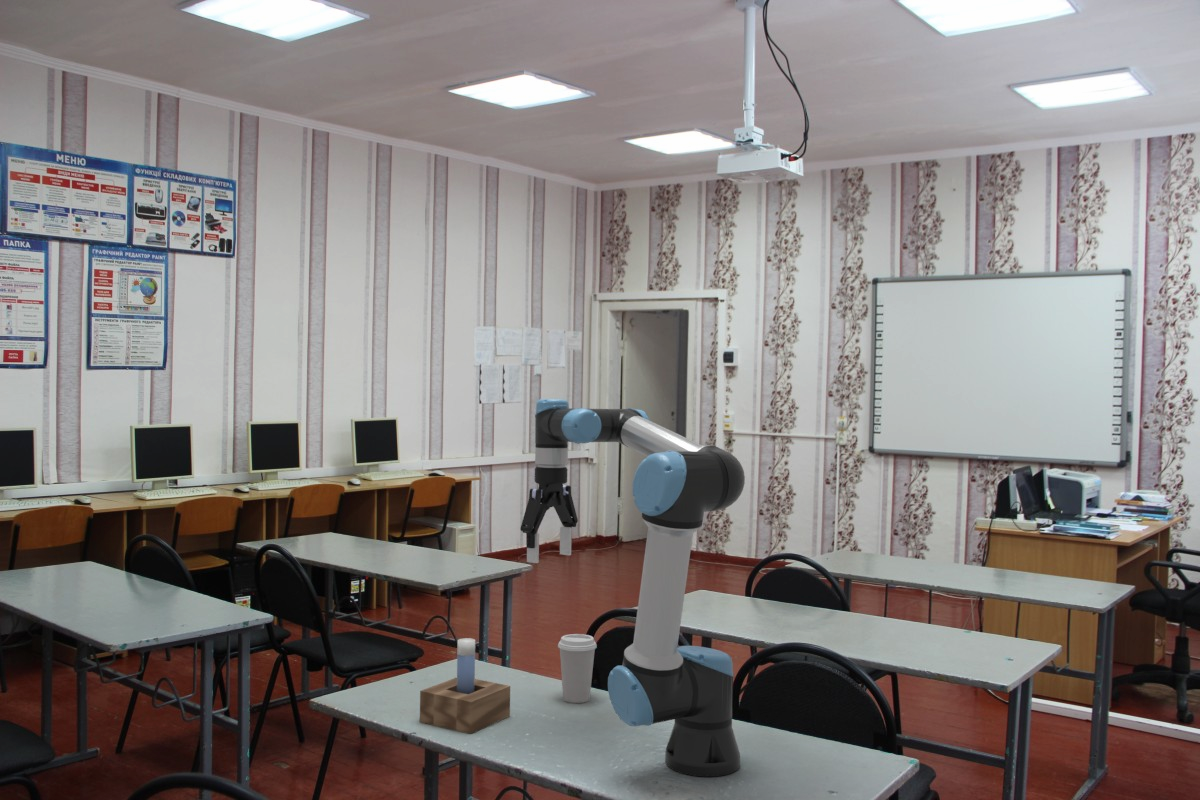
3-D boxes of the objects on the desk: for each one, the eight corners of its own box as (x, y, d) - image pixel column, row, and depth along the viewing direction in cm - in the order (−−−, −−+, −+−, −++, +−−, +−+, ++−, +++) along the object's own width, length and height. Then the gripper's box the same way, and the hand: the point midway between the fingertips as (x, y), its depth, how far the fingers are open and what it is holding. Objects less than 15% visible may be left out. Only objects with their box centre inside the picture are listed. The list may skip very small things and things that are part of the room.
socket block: (509, 716, 230) (510, 686, 230) (470, 734, 218) (471, 702, 218) (460, 705, 238) (460, 676, 238) (419, 721, 225) (420, 690, 225)
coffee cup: (603, 697, 246) (604, 636, 246) (581, 707, 238) (583, 644, 238) (571, 691, 251) (572, 631, 251) (549, 700, 243) (550, 638, 243)
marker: (477, 718, 228) (478, 639, 228) (466, 723, 225) (467, 643, 225) (463, 715, 230) (465, 637, 230) (452, 719, 227) (454, 640, 227)
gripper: (566, 462, 242) (565, 550, 242) (505, 468, 220) (504, 564, 220) (593, 464, 238) (591, 553, 238) (533, 469, 217) (532, 567, 217)
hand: (549, 558), depth 229 cm, fingers open, 13 cm apart
